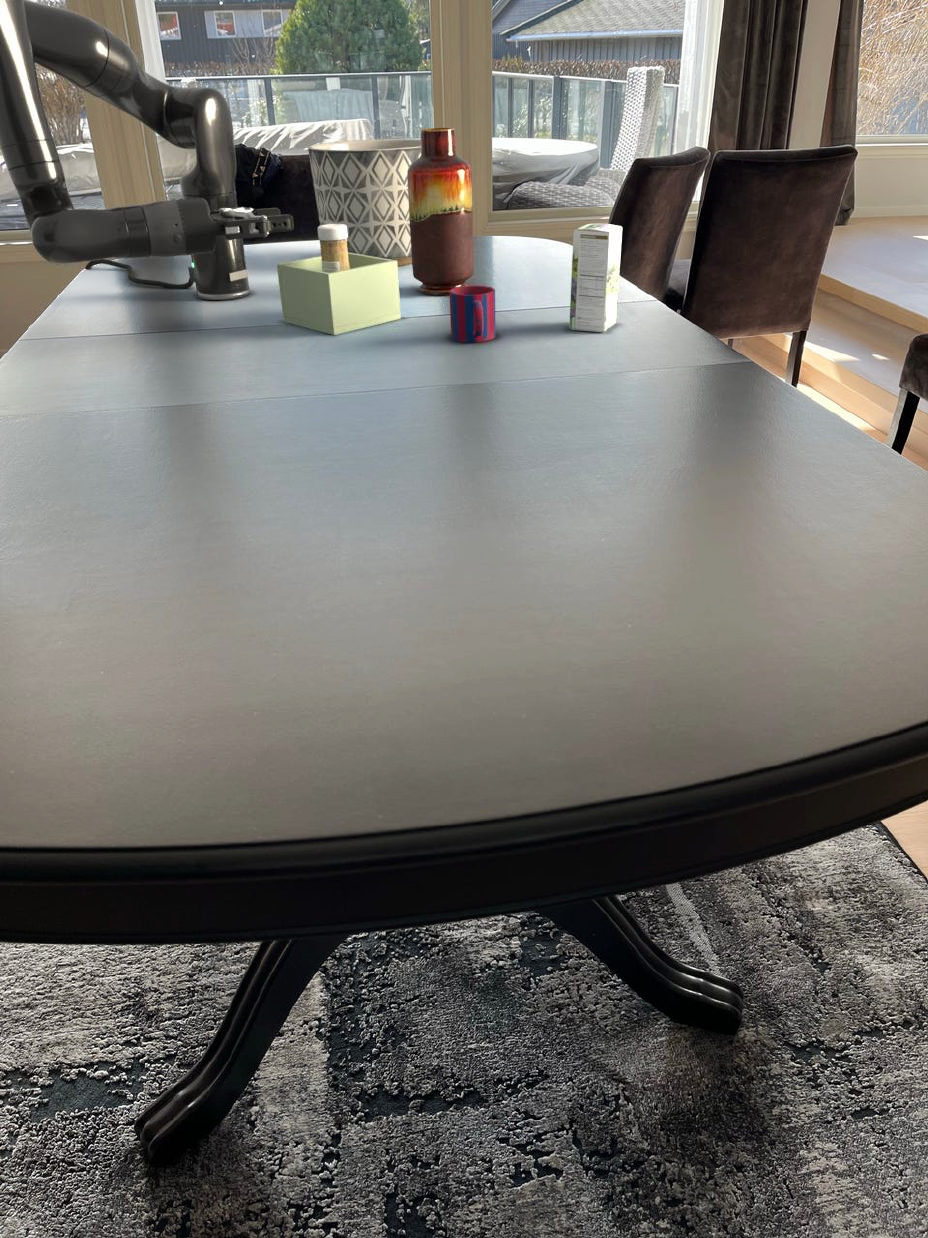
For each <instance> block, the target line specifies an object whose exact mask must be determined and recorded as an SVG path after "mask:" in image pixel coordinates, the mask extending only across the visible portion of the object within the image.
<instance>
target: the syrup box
mask: <svg viewBox="0 0 928 1238" xmlns="http://www.w3.org/2000/svg"><path fill="white" fill-rule="evenodd" d="M572 237H573V238H572V256H571V281H570V282H571V283H570V303H569V306H570V307H569V323H568V325H569V327H568V329H569V330H572V331H584V332H595V333H605V332H607V331H608V330H610V328H612V327H614V326H615V325H616V323H617V314H618V313H617V312H618V301H619V299H618V298H619V297H618V296H619V295H618V294H619V284H620V272H621V271H620V269H621V255H622V254H621V253H622V240H623V226H622V225H617V224H616V225H615V224H610V223H600V222H599V223H597V222H596V223H587V224H585V225H582V226H580V227H578V228H576V229H574V230H573V235H572Z"/></svg>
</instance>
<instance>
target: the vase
mask: <svg viewBox="0 0 928 1238" xmlns="http://www.w3.org/2000/svg"><path fill="white" fill-rule="evenodd" d="M419 134H420V139H421V156H420V157H419V158H418V159H416V160H415V161H413V162H412V163H411V165H410V166H409V168H408V170H407V181H408V201H409V219H410V237H411V254H412V263H411V265H412V266H411V267H412V268H411V269H412V276H413V278H414V279H415V280H417V281H418V282H420V283H421V285H420V286H419V288H418V291H419V293H420V294H423V295H425V296H426V295H427V296H435V297H436V296H437V297H438V296H439V297H440V296H444V297H445V296H450V294H449V291H450V290H451V289H453V288H456V287H462V286H469V285H468V283H466V281H468V279H470V278H471V277H473V276H474V223H473V222H474V220H473V219H474V218H473V215H474V214H473V180H472V167H471V166H470V164H469V162H468V161H467V160H466V159H464V158H462V157H461V156H459V155H458V154H457V147H456V146H457V145H456V129H455V127H428V128H427V127H426V128H421V129H420V133H419Z"/></svg>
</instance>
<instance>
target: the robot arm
mask: <svg viewBox="0 0 928 1238" xmlns="http://www.w3.org/2000/svg"><path fill="white" fill-rule="evenodd" d="M36 65H38V66H40V67H42V68H43V69H46V70H48V71H49V72H51V73H53V74H55V75H57V76H59V77H60V78H62V79H63V80H64V81H67V82H68V83H70V84H71V85H74V86H75V87H77V88H78V89H81V90H82V91H84V92H86V93H87V94H89V95H90V96H92V97H95V98H97V99H99V100H101V101H103V102H105V103H106V104H108V105H110V106H112V107H114V108H116V109H117V110H120V111H122V112H123V113H125V114H127V115H129V116H131V117H133V118H134V119H136V120H138V121H139V122H141V123H142V124H144V125H145V126H146V127H148V128H149V129H151V131H153V132H155V133H156V134H157V135H158V136H160V137H161V138H162V139H163V140H165V141H167V142H168V143H170V144H171V145H172V146H175V147H176V148H178V149H179V148H180V149H183V150H195V165H194V166H193V168H192V169H191V170H190V171H188V172H186V173H183V174H182V175H181V176H180V178H179V185H180V187H179V188H180V192H181V197H182V199H171V200H159V201H158V200H157V201H153V202H148V203H143V204H142V203H141V204H131V205H119V206H112V207H106V208H102V209H101V208H97V209H96V208H75V206H74V203H73V201H72V198H71V196H70V194H69V193H70V192H69V191H68V187H67V183H66V177H65V172H64V168H63V164H62V162H61V158H60V155H59V152H58V149H57V146H56V145H57V144H56V143H55V140H54V136H53V134H52V131H51V127H50V124H49V121H48V117H47V115H46V111H45V107H44V103H43V99H42V95H41V89H40V85H39V84H40V83H39V79H38V75H37V69H36ZM232 118H233V117H232V114H231V110H230V107H229V103H228V102H227V99H226V98H225V96H224V95H223V94H222V93H221V92H220V91H219V90H218V89H216V88H213V87H210V86H209V87H208V86H207V87H206V86H205V87H204V86H203V87H202V86H201V87H200V86H198V87H197V86H196V87H195V86H193V87H189V86H188V87H178V86H173V85H170V84H168V83H165V82H163V81H161V80H160V79H158V78H156V77H154V76H153V75H150V74H149V73H148V72H146V71H145V70H144V69H143V67H142V65H141V63H140V61H139V59H138V57H137V55H136V53H135V52H134V51H133V49H132V48H131V46H130V45H129V44H128V43H127V42H126V41H125V40H123V39H122V38H121V37H120V36H118V35H117V34H116V33H114V32H113V31H111V30H109V29H108V28H106V27H105V26H103V25H102V24H101V23H99V22H98V21H95V20H94V19H92V18H90V17H88V16H86V15H84V14H81V13H79V12H75V11H73V10H69V9H64V8H60V7H56V6H53V5H47V4H44V3H39V2H35V1H31V0H0V152H1V155H2V159H3V160H4V163H5V165H6V169H7V171H8V175H9V178H10V180H11V182H12V184H13V186H14V188H15V190H16V192H17V194H18V198H19V200H20V204H21V206H22V210H23V213H24V216H25V219H26V223H27V226H28V229H29V233H30V237H31V242H32V245H33V247H34V249H35V250H36V252H37V253H38V255H40V256H41V257H42V258H43V259H44V260H46V261H47V262H49V263H51V264H53V265H58V266H68V265H71V264H72V265H73V264H78V263H85V262H86V263H87V262H88V263H87V264H86V265H85V268H84V270H91V269H92V268H93V267H94V266H96V265H108V266H113V267H116V268H119V269H125V270H127V272H128V274H127V279H128V280H129V281H130V282H131V283H134V284H138V285H144V286H153V287H161V288H165V289H172V290H173V289H176V290H188V289H190V288H191V287H193V286H194V283H195V289H196V294H197V297H198V298H199V299H202V300H210V301H224V300H225V301H226V300H234V299H239V298H244V297H246V296H249V295H250V294H251V286H250V283H249V275H248V268H247V261H246V255H245V254H246V253H245V248H244V241H243V240H244V239H255V238H264V239H265V238H266V237H268V235H270V234H274V233H283V232H293V230H294V229H295V224H294V217H293V216H292V215H291V214H289V213H287V214H281V210H280V209H279V207H270V208H269V207H268V208H266V207H265V208H257V209H256V208H252V207H246V206H241V207H240V206H239V204H238V197H237V191H236V189H237V188H236V176H237V158H236V145H235V134H234V127H233V126H234V125H233V119H232ZM256 227H257V229H256ZM180 256H181V257H183V256H190V259H191V266H188V267H187V270H188V275H189V278H188V281H187V282H185V283H180V284H177V283H171V282H165V281H161V280H155V279H154V280H153V279H144V278H143V279H142V278H138V277H135V272H134V269H133V266H131V265H130V264H127V263H122V262H118V261H115V260H110V259H117V260H118V259H119V260H121V259H122V260H128V259H140V258H141V259H142V258H150V257H161V258H169V257H170V258H173V257H180Z"/></svg>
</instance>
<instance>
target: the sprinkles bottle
mask: <svg viewBox="0 0 928 1238" xmlns="http://www.w3.org/2000/svg"><path fill="white" fill-rule="evenodd" d="M347 237H348V234H347V227H346V225H343V224H327V225H321V226H320V225H319V226H318V227H317V238H318V240H319V247H320V248H319V249H320V256H321V258H322V260H321V262H322V272H327V273H332V272H337V271H342V270H347V269H350V267H349V261H348V250H347V239H346V238H347Z"/></svg>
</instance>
